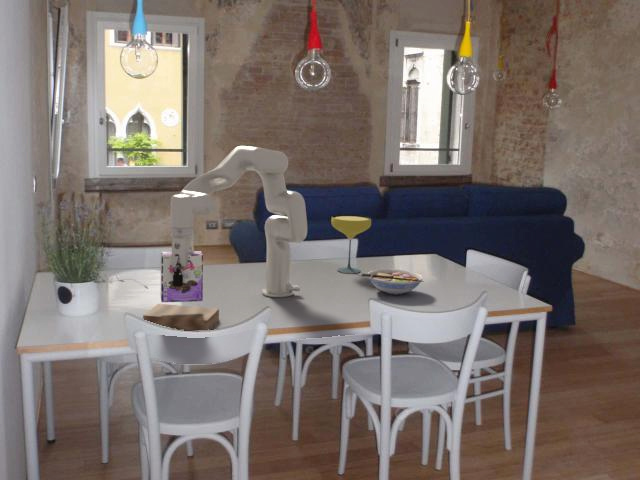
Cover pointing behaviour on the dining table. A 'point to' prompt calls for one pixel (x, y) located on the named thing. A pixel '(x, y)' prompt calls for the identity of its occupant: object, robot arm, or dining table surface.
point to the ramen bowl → (394, 280)
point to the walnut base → (183, 316)
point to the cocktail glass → (350, 231)
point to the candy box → (191, 279)
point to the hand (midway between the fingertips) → (182, 282)
